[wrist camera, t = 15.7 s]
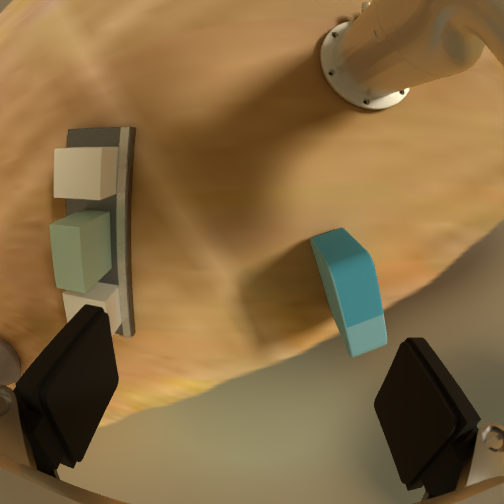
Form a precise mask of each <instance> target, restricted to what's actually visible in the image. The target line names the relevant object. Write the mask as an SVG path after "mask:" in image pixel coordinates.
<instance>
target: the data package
mask: <svg viewBox="0 0 504 504" xmlns="http://www.w3.org/2000/svg"><path fill="white" fill-rule="evenodd" d="M310 243H311V247H312V250H313V253H314V256H315V260H316V263H317V266H318V269H319V273H320V276H321V279H322V283H323V286H324V290H325V293H326V297H327V300H328V304H329V307H330V310H331V313H332V315H333V318H334V320H335V322H336V325H337V327H338V329H339V332H340V334H341V337H342V339H343V341H344V344H345V346H346V349H347V351H348V353H349V356H350V357H355V356H358V355H360V354H363V353H366V352H368V351H371V350H374V349H376V348H379V347H381V346H384V345H386V344H387V334H386V327H385V320H384V314H383V308H382V302H381V296H380V291H379V285H378V280H377V275H376V270H375V266H374V263H373V260H372V258H371V256H370V254H369V253H368V252H367V250H366V249H364V248H363V247H362V246H361V245H360V244H359V243H358V242H357V241H356V240H355V239H354V238H353V237H352V236H351V235H350V234H349V233H348V232H347V231H346V230H345V229H344V228H339V229H336V230H333V231H330V232H327V233H324V234H321V235H318V236H316V237H313V238H311V239H310Z"/></svg>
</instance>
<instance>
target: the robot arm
mask: <svg viewBox="0 0 504 504" xmlns="http://www.w3.org/2000/svg"><path fill="white" fill-rule="evenodd" d="M333 36H335V38H334V37H333ZM485 44H486V46H487V47H488V48H489V49H490V50H491V52H492V53H493V54H494V55H495V57H496V58H497V60H498V61H499V62H501V64H502V65H503V67H504V0H372V2H371V3H367V2H364V3H362V13H361V14H360V15H359V16H358V18H357V19H356V20H355V21H348V22H344V23H341V24H339V25H337V26H336V27H334V28H333V29H332V30H331V31H330V32H329V33H328V34H327V35H326V37H325V39H324V40H323V43H322V46H321V49H320V64H321V68H322V71H323V74H324V76H325V78H326V80H327V82H328V83H329V84H330V86H331V87H332V88H333V90H334V91H335V92H336V93H337V94H338V95H339V96H340V97H342V98H343V99H345V100H346V101H348V102H349V103H351V104H353V105H355V106H357V107H361V108H364V109H371V110H380V109H385V108H389V107H392V106H394V105H396V104H398V103H399V102H400V101H402V100H403V99H404V98H405V97H406V95H407V94H408V92H409V90H410V88H411V87H414V86H417V85H420V84H423V83H427V82H430V81H433V80H437V79H440V78H444V77H447V76H451V75H455V74H458V73H461V72H464V71H466V70H468V69H469V68H470V67H472V66H473V65H474V64H475V63H476V62H477V60H478V59H479V58H480V56H481V54H482V51H483V49H484V46H485ZM329 73H332V76H331V75H329ZM399 91H400V93H399ZM363 101H365V102H366V104H364V102H363ZM118 380H119V377H118V371H117V366H116V360H115V354H114V348H113V342H112V335H111V328H110V320H109V315H108V313H105V312H104V309H103V308H102V307H99V306H94V305H89V304H85V305H84V306H83V307H82V308H81V309H80V310H79V311H78V312H77V313H76V314H75V315H74V316H73V318H72V319H71V320H70V321H69V322H68V323H67V324H66V325H65V326H64V327H63V329H62V330H61V331H60V332H59V333H58V334H57V335H56V336H55V337H54V339H53V340H52V341H51V342H50V343H49V344H48V345H47V347H46V348H45V349H44V350H43V351H42V352H41V354H40V355H39V356H38V357H37V358H36V359H35V361H34V362H33V363H32V364H31V365H30V367H29V368H28V369H27V370H26V371H25V373H24V374H23V375H22V376H21V378H20V379H19V380H18V381H17V383H16V387H15V389H14V390H13V391H12V390H11V389H10V388H9V387H7V386H5V385H1V384H0V504H129V503H126V502H122V501H118V500H115V499H112V498H109V497H106V496H103V495H100V494H96V493H93V492H90V491H88V490H85V489H82V488H79V487H77V486H74V485H71V484H69V483H66V482H64V481H61V480H60V478H59V475H58V472H57V470H56V469H57V468H58V466H59V464H60V463H61V464H63V465H66V466H68V467H71V468H74V466H75V464H76V462H77V461H78V462H81V461H82V459H83V457H84V455H85V453H86V450H87V448H88V446H89V444H90V442H91V440H92V437H93V435H94V433H95V431H96V429H97V427H98V425H99V423H100V420H101V418H102V416H103V414H104V412H105V410H106V408H107V406H108V404H109V402H110V400H111V398H112V396H113V394H114V392H115V390H116V388H117V385H118ZM374 408H375V411H376V414H377V416H378V419H379V421H380V424H381V427H382V429H383V432H384V435H385V437H386V440H387V443H388V445H389V448H390V451H391V454H392V456H393V459H394V462H395V465H396V468H397V471H398V473H399V476H400V479H401V481H402V483H404V484H406V487H407V490H408V491H409V490H413V489H417V488H421V487H422V486H423V485H424V486H425V489H426V490H425V492H424V495H423V497H422V499H421V502H417V503H414V504H504V427H502V426H501V425H499V424H496V423H492V422H489V423H485V424H483V425H482V426H481V427H480V428H479V429H478V428H477V426H476V425H477V423H478V422H479V421H480V420H481V418H480V417H479V415H478V414H477V412H476V411H475V409H474V408H473V406H472V405H471V403H470V402H469V400H468V399H467V397H466V396H465V394H464V393H463V391H462V390H461V388H460V387H459V385H458V384H457V383H456V381H455V380H454V378H453V377H452V375H451V374H450V373H449V371H448V370H447V368H446V367H445V366H444V364H443V363H442V362H441V360H440V359H439V357H438V356H437V355H436V353H435V352H434V351H433V350H432V348H431V347H430V345H429V344H428V343H427V341H426V340H425V339H424V338H407V339H406V340H405V341H404V342H402V343H401V344H400V346H399V349H398V351H397V353H396V356H395V358H394V360H393V363H392V365H391V367H390V369H389V371H388V374H387V376H386V378H385V380H384V382H383V384H382V386H381V388H380V390H379V392H378V394H377V396H376V399H375V402H374Z"/></svg>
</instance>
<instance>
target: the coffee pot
mask: <svg viewBox="0 0 504 504" xmlns="http://www.w3.org/2000/svg"><path fill="white" fill-rule="evenodd" d="M20 376H21V366H20V360H19V358H18V356H17V354H16V352H15V351H14V349H13V348H12V347H11V346H10V345H9V344H8V343H7V342H5V341H3V340H0V384H1V385H5V386H6V385H9V384H12V383H14V382H17V381H18V380H19V379H20ZM10 389H11V388H10ZM11 390H12V389H11ZM12 391H13V390H12Z"/></svg>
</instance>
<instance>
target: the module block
mask: <svg viewBox="0 0 504 504" xmlns="http://www.w3.org/2000/svg"><path fill="white" fill-rule="evenodd" d="M49 229H50V241H51V251H52V260H53V268H54V275H55V282H56V288H60V289H65V290H70V291H75V292H81V293H86V292H87V291H88V290H89V289H91V288H92V287H93V286H94V285H95V284H96V283H97V282H98V281H99V280H100V279H101V278H102V277H103V276H104V275H105V274H106V273H107V272H108V271H109V270H110V269H111V268H112V262H111V240H110V211H97V210H83V209H82V210H80V211H77V212H75V213H73V214H71V215H68V216H66V217H64V218H62V219H60V220H57V221H55V222H53V223H51V224H49Z"/></svg>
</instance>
